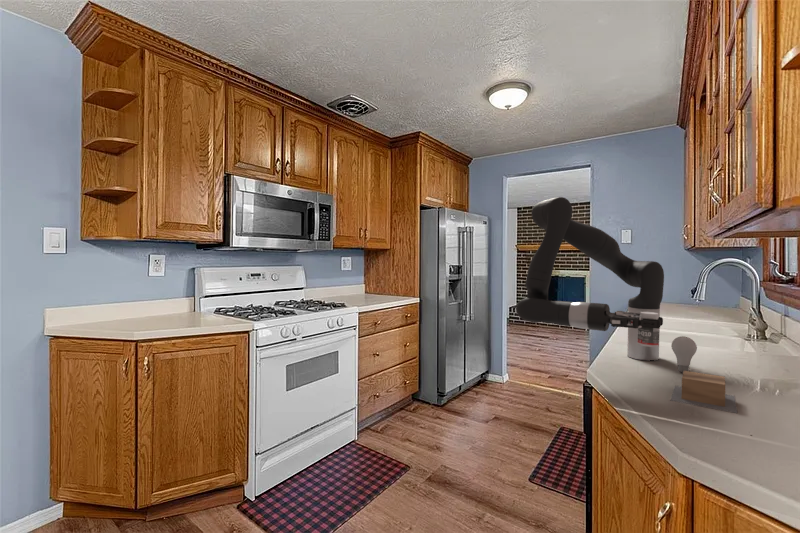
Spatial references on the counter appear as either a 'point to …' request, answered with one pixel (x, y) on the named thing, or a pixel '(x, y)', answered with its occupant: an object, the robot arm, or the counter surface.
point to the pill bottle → (648, 331)
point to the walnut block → (703, 388)
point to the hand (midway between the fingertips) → (661, 322)
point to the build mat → (729, 403)
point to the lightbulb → (683, 352)
